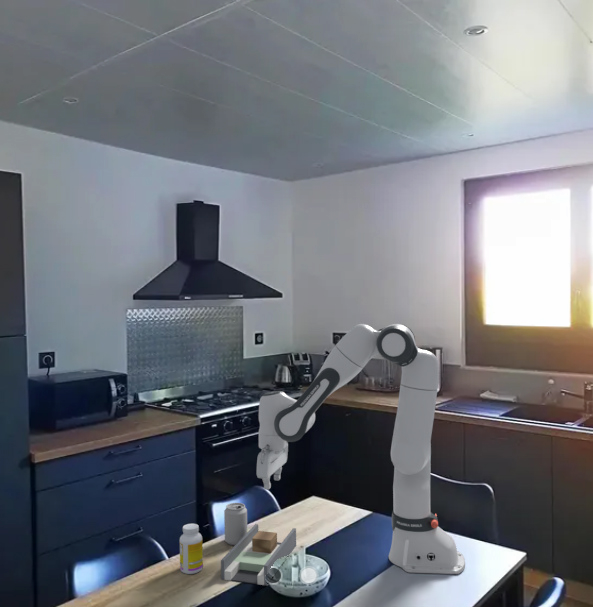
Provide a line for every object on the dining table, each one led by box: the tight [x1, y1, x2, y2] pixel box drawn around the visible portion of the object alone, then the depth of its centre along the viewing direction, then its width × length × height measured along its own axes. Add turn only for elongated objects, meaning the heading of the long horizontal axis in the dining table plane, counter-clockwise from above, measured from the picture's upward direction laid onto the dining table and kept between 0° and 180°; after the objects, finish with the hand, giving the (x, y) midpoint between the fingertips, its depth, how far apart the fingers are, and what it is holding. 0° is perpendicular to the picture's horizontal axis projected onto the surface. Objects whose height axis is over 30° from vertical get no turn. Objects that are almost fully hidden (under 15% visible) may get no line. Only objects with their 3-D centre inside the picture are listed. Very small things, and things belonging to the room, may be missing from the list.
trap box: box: [220, 523, 297, 587], centre depth 180 cm, size 14×28×6 cm, turn 163°
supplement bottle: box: [179, 523, 204, 575], centre depth 175 cm, size 7×7×13 cm
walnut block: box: [252, 530, 278, 554], centre depth 183 cm, size 6×6×4 cm
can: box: [223, 502, 248, 546], centre depth 194 cm, size 8×8×12 cm
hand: (272, 484), depth 190 cm, fingers open, 8 cm apart
